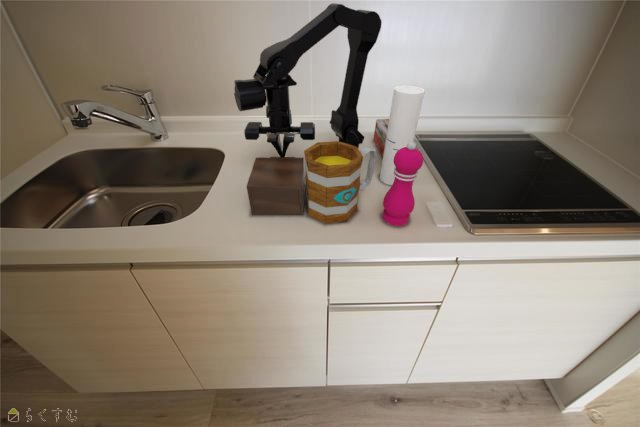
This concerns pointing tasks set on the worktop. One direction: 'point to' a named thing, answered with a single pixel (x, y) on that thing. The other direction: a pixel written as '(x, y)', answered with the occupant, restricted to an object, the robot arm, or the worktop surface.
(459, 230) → the worktop surface
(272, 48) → the robot arm
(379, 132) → the medicine box
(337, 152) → the mug
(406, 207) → the pepper mill
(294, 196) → the cabinet
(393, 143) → the cylindrical container
